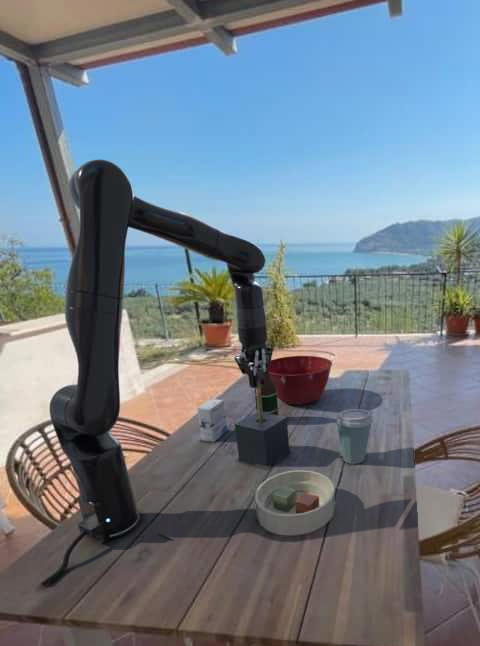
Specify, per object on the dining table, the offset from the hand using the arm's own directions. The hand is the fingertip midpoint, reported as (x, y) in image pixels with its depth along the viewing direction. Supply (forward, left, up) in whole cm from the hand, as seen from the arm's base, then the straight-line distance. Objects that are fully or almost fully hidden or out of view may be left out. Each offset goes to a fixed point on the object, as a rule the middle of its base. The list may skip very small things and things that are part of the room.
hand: (257, 385), depth 109 cm
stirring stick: (0, 0, -16) cm, 16 cm away
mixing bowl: (+45, +18, -23) cm, 54 cm away
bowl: (-18, -24, -23) cm, 38 cm away
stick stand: (0, 0, -23) cm, 23 cm away
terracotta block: (-18, -27, -22) cm, 39 cm away
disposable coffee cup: (+11, -25, -23) cm, 36 cm away
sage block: (-18, -21, -22) cm, 35 cm away
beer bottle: (+22, +16, -23) cm, 36 cm away
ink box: (+4, +24, -23) cm, 34 cm away
